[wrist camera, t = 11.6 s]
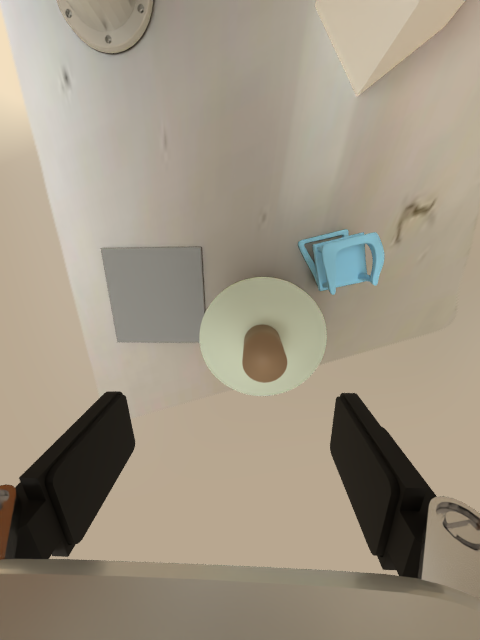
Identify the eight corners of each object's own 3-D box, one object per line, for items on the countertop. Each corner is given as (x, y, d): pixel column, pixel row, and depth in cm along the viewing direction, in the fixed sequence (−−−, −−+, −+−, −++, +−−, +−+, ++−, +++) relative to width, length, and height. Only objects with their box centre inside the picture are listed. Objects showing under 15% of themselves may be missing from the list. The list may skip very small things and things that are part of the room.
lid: (197, 277, 24) (180, 284, 18) (330, 276, 23) (356, 283, 17) (204, 390, 28) (192, 425, 22) (318, 393, 27) (335, 429, 22)
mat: (102, 248, 38) (100, 248, 37) (201, 247, 37) (200, 246, 37) (119, 341, 43) (117, 342, 42) (206, 341, 42) (206, 342, 41)
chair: (304, 290, 39) (328, 307, 27) (297, 241, 36) (318, 236, 25) (350, 280, 38) (394, 293, 26) (345, 229, 35) (391, 218, 24)
